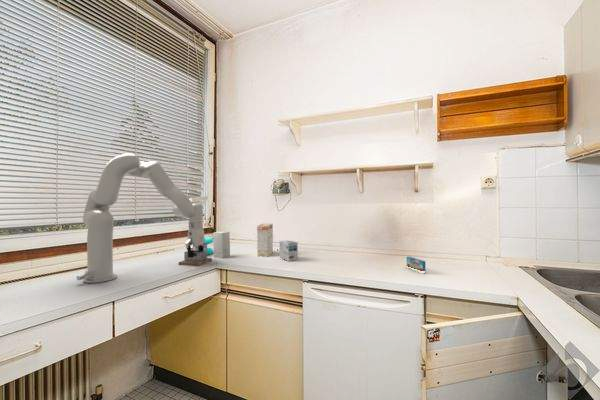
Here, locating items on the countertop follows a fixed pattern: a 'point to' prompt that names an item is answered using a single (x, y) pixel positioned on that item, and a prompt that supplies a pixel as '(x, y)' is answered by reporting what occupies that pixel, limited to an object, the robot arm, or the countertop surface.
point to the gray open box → (196, 256)
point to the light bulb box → (289, 250)
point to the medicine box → (198, 246)
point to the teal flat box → (416, 263)
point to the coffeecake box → (264, 239)
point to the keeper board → (192, 263)
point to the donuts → (209, 241)
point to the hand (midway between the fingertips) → (195, 255)
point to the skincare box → (221, 244)
